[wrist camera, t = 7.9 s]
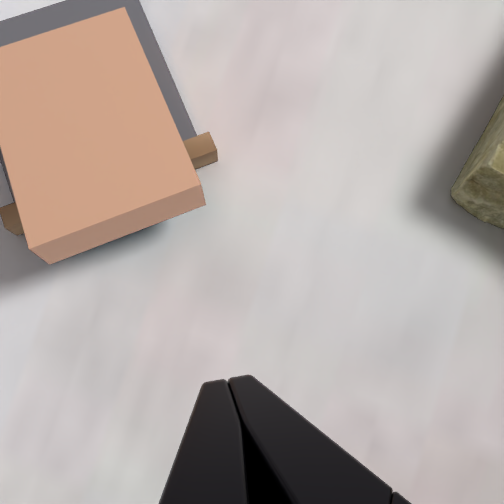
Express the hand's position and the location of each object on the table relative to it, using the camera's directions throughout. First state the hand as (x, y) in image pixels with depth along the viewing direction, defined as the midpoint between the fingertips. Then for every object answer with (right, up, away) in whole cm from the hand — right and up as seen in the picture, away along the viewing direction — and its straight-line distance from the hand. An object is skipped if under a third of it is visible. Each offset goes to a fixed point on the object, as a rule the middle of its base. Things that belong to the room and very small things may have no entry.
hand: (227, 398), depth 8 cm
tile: (-5, +4, +11) cm, 13 cm away
